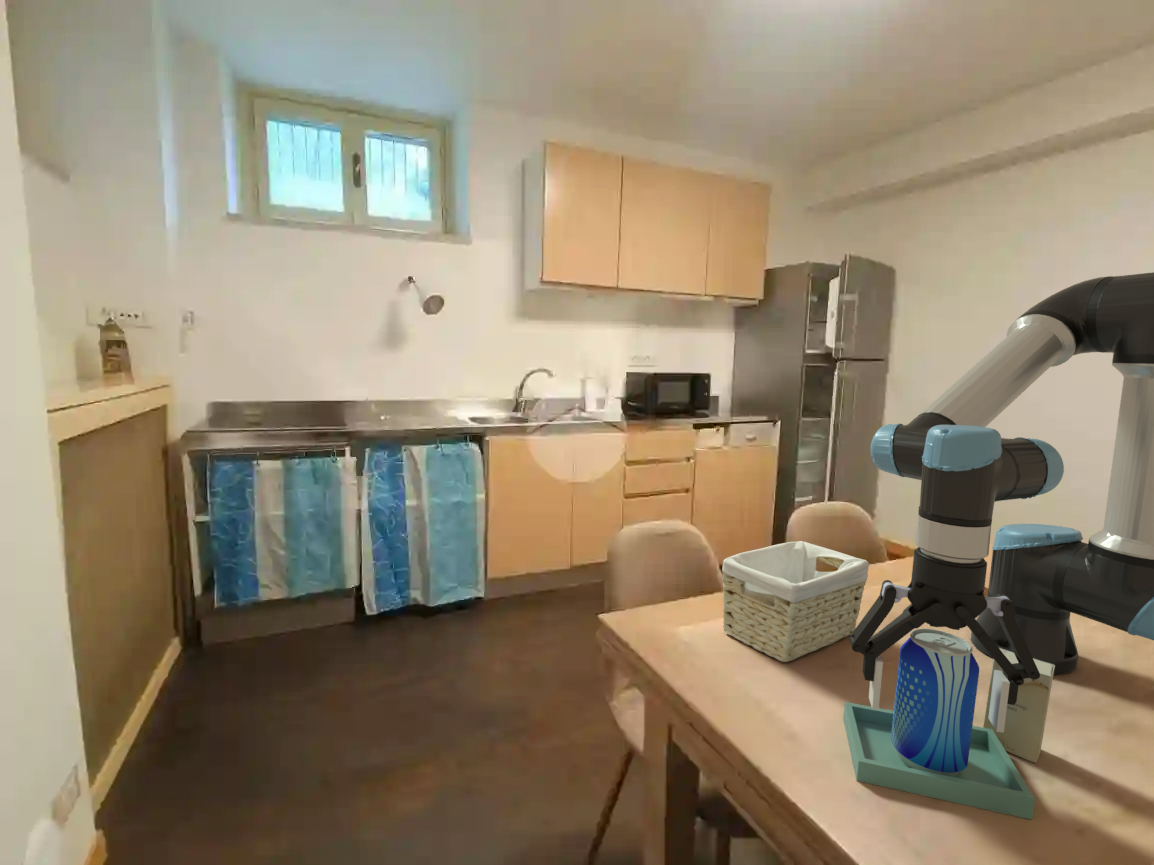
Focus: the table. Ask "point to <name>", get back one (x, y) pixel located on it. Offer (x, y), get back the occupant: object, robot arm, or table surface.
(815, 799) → the table surface
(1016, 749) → the skincare box
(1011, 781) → the tray
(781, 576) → the storage basket
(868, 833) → the table surface
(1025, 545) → the robot arm
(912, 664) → the beer can
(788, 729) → the table surface
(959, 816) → the table surface
